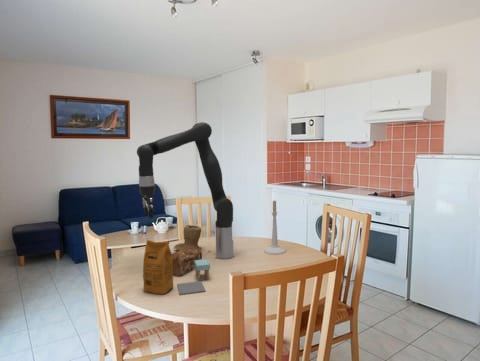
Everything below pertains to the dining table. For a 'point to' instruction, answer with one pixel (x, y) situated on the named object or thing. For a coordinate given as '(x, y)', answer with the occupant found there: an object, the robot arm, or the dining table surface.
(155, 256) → the coffee package
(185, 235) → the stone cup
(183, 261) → the bread
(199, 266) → the blue block with pegs
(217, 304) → the dining table surface
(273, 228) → the candlestick
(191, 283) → the mat
